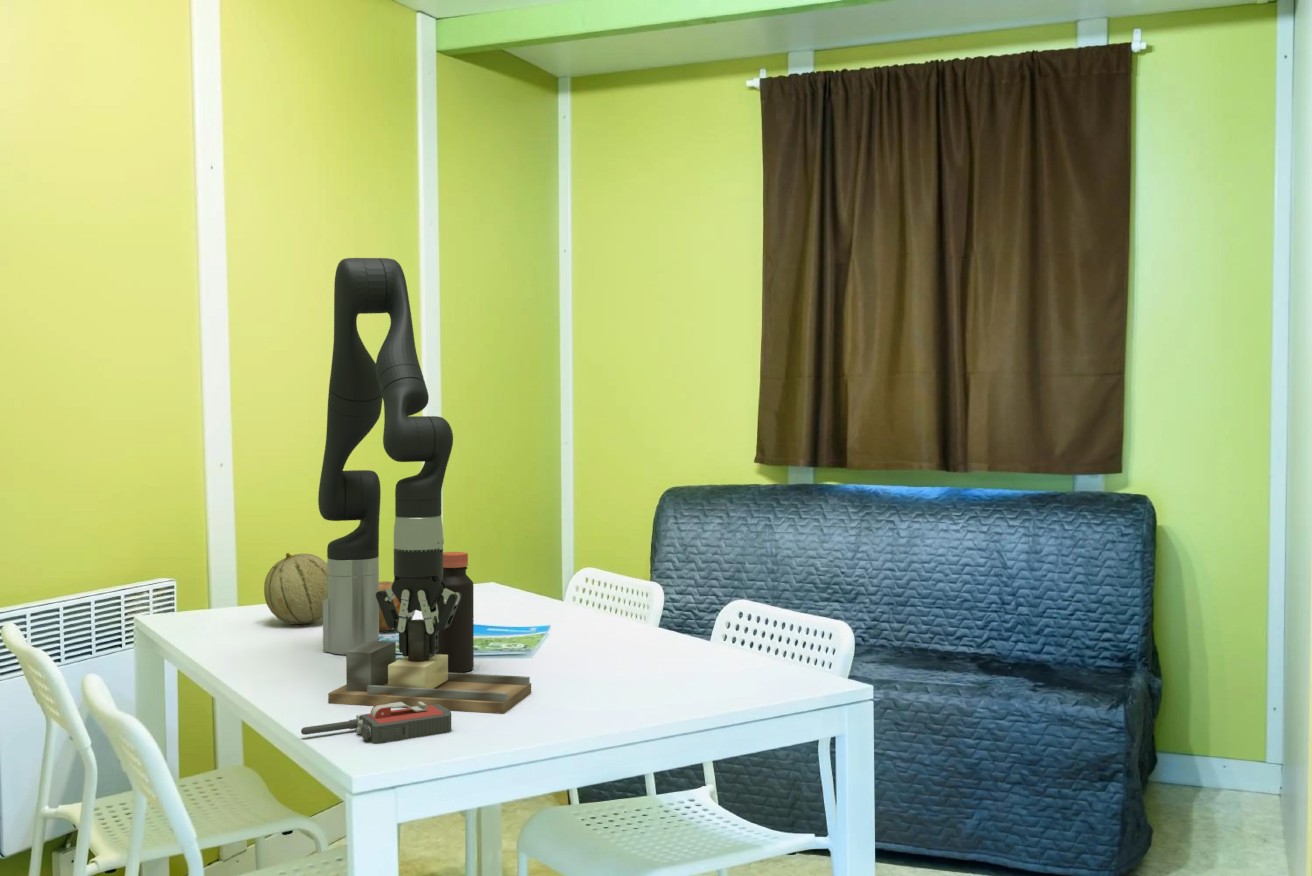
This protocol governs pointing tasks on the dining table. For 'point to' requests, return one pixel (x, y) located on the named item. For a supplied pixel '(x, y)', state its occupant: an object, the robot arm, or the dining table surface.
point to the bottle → (458, 615)
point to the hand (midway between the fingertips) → (418, 655)
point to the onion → (382, 622)
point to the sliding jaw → (418, 662)
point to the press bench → (454, 694)
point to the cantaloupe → (297, 588)
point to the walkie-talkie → (393, 723)
